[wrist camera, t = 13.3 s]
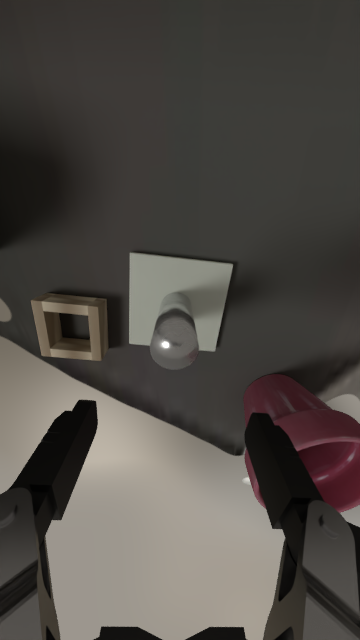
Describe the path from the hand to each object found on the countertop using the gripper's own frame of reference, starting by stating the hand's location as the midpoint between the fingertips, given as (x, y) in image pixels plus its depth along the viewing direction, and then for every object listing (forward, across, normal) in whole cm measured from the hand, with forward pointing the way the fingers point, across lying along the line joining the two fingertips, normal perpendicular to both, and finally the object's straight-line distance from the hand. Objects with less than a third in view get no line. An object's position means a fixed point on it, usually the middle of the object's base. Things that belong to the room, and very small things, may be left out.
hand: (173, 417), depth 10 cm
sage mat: (+18, 0, 0) cm, 18 cm away
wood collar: (+18, +13, +4) cm, 22 cm away
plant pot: (+18, -17, +14) cm, 28 cm away
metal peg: (+16, 0, 0) cm, 17 cm away
